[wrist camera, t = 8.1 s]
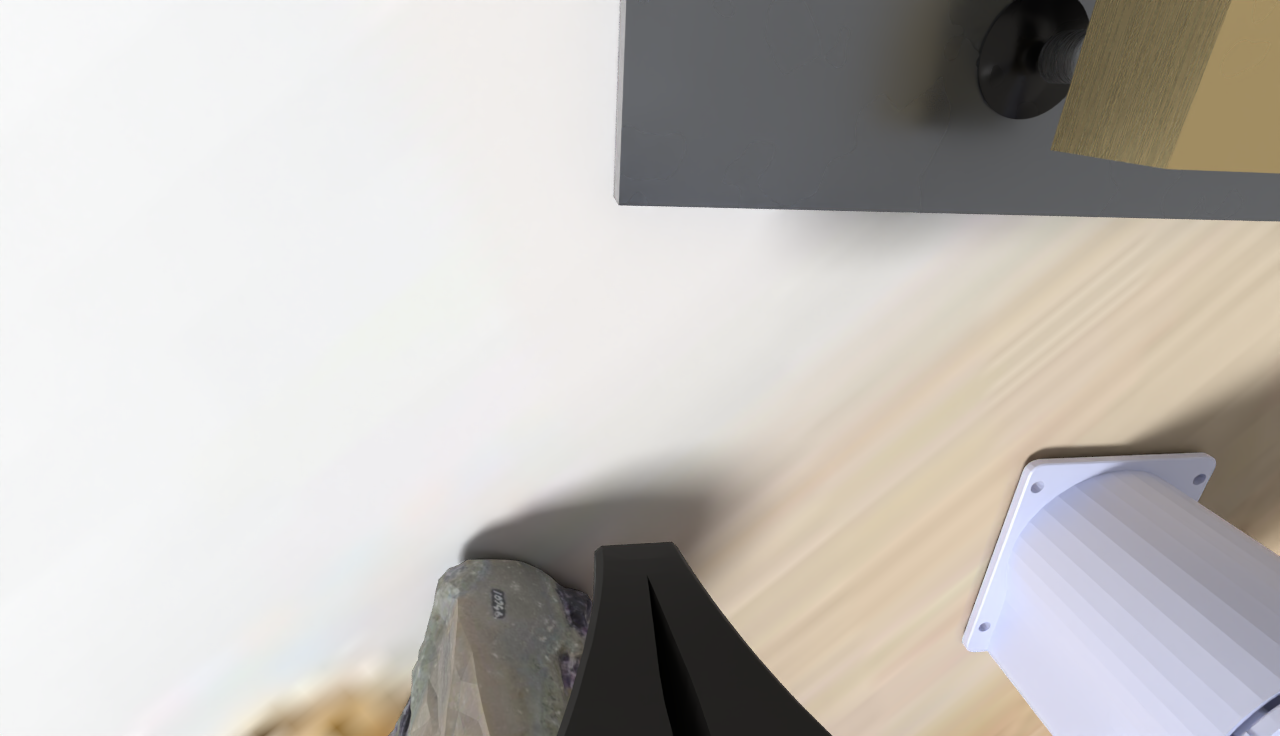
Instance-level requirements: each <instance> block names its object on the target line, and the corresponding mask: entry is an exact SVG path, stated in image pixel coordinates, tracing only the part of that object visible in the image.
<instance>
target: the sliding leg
mask: <svg viewBox="0 0 1280 736" xmlns="http://www.w3.org/2000/svg"><path fill="white" fill-rule="evenodd" d="M1038 72H1039V74H1040V76H1041V78H1042V79H1043V80H1044V81H1046V82H1048V83H1053V84H1070V87H1069V90H1068V93H1067V97H1066V100H1065V103H1064V106H1063V110H1062V113H1061V116H1060V119H1059V123H1058V126H1057V129H1056V133H1055V136H1054V139H1053V142H1052V146H1051V149H1050V150H1053V151H1059V152H1065V153H1071V154H1078V155H1084V156H1090V157H1096V158H1102V159H1108V160H1114V161H1120V162H1126V163H1133V164H1139V165H1145V166H1151V167H1157V168H1163V169H1177V170H1203V171H1229V172H1255V173H1280V0H1096V2H1095V5H1094V8H1093V12H1092V15H1091V18H1090V21H1089V25H1088V28H1087V29H1078V30H1064V31H1060V32H1058V33H1056V34H1054V35H1053V36H1051V37H1050V38H1049V39H1048V40H1047V41H1046V43H1045V44H1044V45H1043V47H1042V49H1041V51H1040V54H1039V57H1038Z"/></svg>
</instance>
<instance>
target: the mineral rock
mask: <svg viewBox="0 0 1280 736" xmlns="http://www.w3.org/2000/svg"><path fill="white" fill-rule="evenodd" d="M591 609H592V601H591V600H590V598H589V597H588V595H587V594H585V593H583V592H581V591H577V590H574V589H570V588H569V589H566V588H564V587H563V586H561V585H559V584H558V583H557V582H556V581H555V580H554V579H552V578H551V577H550V576H549V575H547V574H546V573H545V572H543V571H542V570H540V569H538V568H536V567H534V566H531V565H529V564H526V563H524V562H521V561H515V560H496V559H480V560H467V561H465V562H463V563H461V564H459V565H457V566H454V567H451V568H449V569H448V570H447V571H446V572H445V573H444V575H443V576H442V577H441V578H440V579H439V580H438V584H437V588H436V593H435V599H434V605H433V609H432V612H431V616H430V619H429V623H428V626H427V631H426V635H425V639H424V641H423V643H422V645H421V647H420V650H419V656H418V661H417V663H416V665H415V666H414V668H413V670H412V689H411V696H410V698H409V701H408V703H407V705H406V707H405V709H404V710H403V712H402V714H401V716H400V718H399V719H398V721H397V723H396V725H395V729H394V730H393V731H392V732H391V733H390V734H389V735H388V736H557V733H558V730H559V728H560V725H561V722H562V719H563V716H564V713H565V710H566V707H567V704H568V701H569V698H570V695H571V691H572V688H573V684H574V681H575V677H576V674H577V670H578V667H579V663H580V660H581V656H582V653H583V649H584V645H585V640H586V635H587V631H588V626H589V621H590V616H591Z"/></svg>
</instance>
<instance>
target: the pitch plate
mask: <svg viewBox="0 0 1280 736" xmlns="http://www.w3.org/2000/svg"><path fill="white" fill-rule="evenodd" d="M1095 2H1096V0H620V22H619V52H618V82H617V111H616V141H615V171H614V198H615V200H616V201H617V203H618V205H632V206H673V207H713V208H754V209H795V210H836V211H876V212H917V213H958V214H998V215H1039V216H1080V217H1121V218H1161V219H1202V220H1243V221H1280V173H1255V172H1229V171H1203V170H1177V169H1163V168H1157V167H1151V166H1145V165H1139V164H1133V163H1126V162H1120V161H1114V160H1108V159H1102V158H1096V157H1090V156H1084V155H1078V154H1071V153H1065V152H1059V151H1053V150H1050V149H1051V146H1052V142H1053V139H1054V136H1055V133H1056V129H1057V126H1058V123H1059V119H1060V116H1061V113H1062V110H1063V106H1064V103H1065V100H1066V97H1067V93H1068V90H1069V87H1070V84H1053V83H1048V82H1046V81H1044V80H1043V79H1042V78H1041V76H1040V74H1039V72H1038V57H1039V54H1040V51H1041V49H1042V47H1043V45H1044V44H1045V43H1046V41H1047V40H1048V39H1049V38H1050V37H1051V36H1053V35H1054V34H1056V33H1058V32H1060V31H1064V30H1078V29H1087V28H1088V25H1089V21H1090V18H1091V15H1092V12H1093V8H1094V5H1095Z"/></svg>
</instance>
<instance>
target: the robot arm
mask: <svg viewBox="0 0 1280 736" xmlns="http://www.w3.org/2000/svg"><path fill="white" fill-rule="evenodd" d="M1215 466H1216V460H1215V459H1214V458H1213V457H1212V456H1210V455H1208V454H1206V453H1202V452H1200V453H1176V454H1151V455H1127V456H1102V457H1078V458H1053V459H1037V460H1033V461H1031V462H1030V463H1028V464H1027V465H1026V466H1025V468H1024V470H1023V472H1022V475H1021V478H1020V480H1019V483H1018V486H1017V489H1016V491H1015V494H1014V497H1013V500H1012V503H1011V505H1010V508H1009V511H1008V514H1007V516H1006V519H1005V522H1004V525H1003V527H1002V530H1001V533H1000V536H999V538H998V541H997V544H996V547H995V550H994V552H993V555H992V558H991V561H990V563H989V566H988V569H987V572H986V574H985V577H984V580H983V583H982V585H981V588H980V591H979V594H978V597H977V599H976V602H975V605H974V608H973V610H972V613H971V616H970V619H969V621H968V624H967V627H966V630H965V632H964V635H963V638H962V643H963V645H964V646H965V647H966V649H967V650H968V651H970V652H981V651H988V652H989V654H990V655H991V656H992V658H993V659H994V660H995V661H996V663H997V664H998V665H999V667H1000V668H1001V669H1002V671H1003V672H1004V673H1005V674H1006V676H1007V677H1008V678H1009V680H1010V681H1011V682H1012V684H1013V685H1014V686H1015V687H1016V689H1017V690H1018V691H1019V693H1020V694H1021V695H1022V697H1023V698H1024V699H1025V700H1026V702H1027V703H1028V704H1029V706H1030V707H1031V708H1032V710H1033V711H1034V712H1035V713H1036V715H1037V716H1038V717H1039V719H1040V720H1041V721H1042V722H1043V724H1044V725H1045V726H1046V728H1047V729H1048V730H1049V732H1050V733H1051V734H1052V735H1053V736H1280V556H1279V555H1277V554H1276V553H1274V552H1273V551H1271V550H1270V549H1268V548H1267V547H1265V546H1264V545H1262V544H1261V543H1259V542H1257V541H1256V540H1254V539H1253V538H1251V537H1250V536H1248V535H1247V534H1245V533H1244V532H1242V531H1241V530H1239V529H1238V528H1236V527H1235V526H1233V525H1232V524H1230V523H1229V522H1227V521H1226V520H1224V519H1223V518H1221V517H1220V516H1218V515H1217V514H1215V513H1214V512H1212V511H1210V510H1209V509H1207V508H1206V507H1204V506H1203V505H1201V504H1200V503H1198V500H1199V498H1200V496H1201V494H1202V492H1203V491H1204V489H1205V487H1206V485H1207V483H1208V481H1209V479H1210V477H1211V475H1212V473H1213V471H1214V469H1215ZM557 736H832V735H831V734H830V733H829V732H828V731H827V730H826V729H825V728H824V727H823V726H822V725H821V724H820V723H819V722H818V721H817V720H816V719H815V718H814V717H813V716H812V715H811V714H810V713H809V712H808V711H807V710H806V709H805V708H804V707H803V706H802V705H801V704H800V703H799V702H798V701H797V700H796V699H795V698H794V697H793V696H792V695H791V694H790V693H789V691H788V690H787V689H786V688H785V687H784V686H783V685H782V684H781V683H780V682H779V681H778V679H777V678H776V677H775V676H774V675H773V674H772V673H771V671H770V670H769V669H768V668H767V667H766V666H765V665H764V664H763V662H762V661H761V660H760V659H759V658H758V657H757V655H756V654H755V653H754V652H753V651H752V649H751V648H750V647H749V646H748V645H747V643H746V642H745V641H744V640H743V638H742V637H741V636H740V635H739V633H738V632H737V631H736V630H735V628H734V627H733V626H732V624H731V623H730V622H729V621H728V619H727V618H726V617H725V616H724V614H723V613H722V612H721V610H720V609H719V608H718V606H717V605H716V604H715V602H714V601H713V600H712V598H711V597H710V595H709V594H708V592H707V591H706V590H705V588H704V587H703V585H702V584H701V583H700V581H699V580H698V578H697V577H696V575H695V574H694V572H693V571H692V569H691V568H690V566H689V565H688V563H687V562H686V560H685V559H684V557H683V556H682V554H681V552H680V551H679V549H678V547H677V546H676V545H674V544H673V543H672V542H663V543H645V544H628V545H610V546H601V547H600V548H598V549H597V550H596V551H595V553H594V589H593V606H592V612H591V616H590V621H589V626H588V631H587V635H586V640H585V645H584V649H583V653H582V656H581V660H580V663H579V667H578V670H577V674H576V677H575V681H574V684H573V688H572V691H571V695H570V698H569V701H568V704H567V707H566V710H565V713H564V716H563V719H562V722H561V725H560V728H559V730H558V733H557Z"/></svg>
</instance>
